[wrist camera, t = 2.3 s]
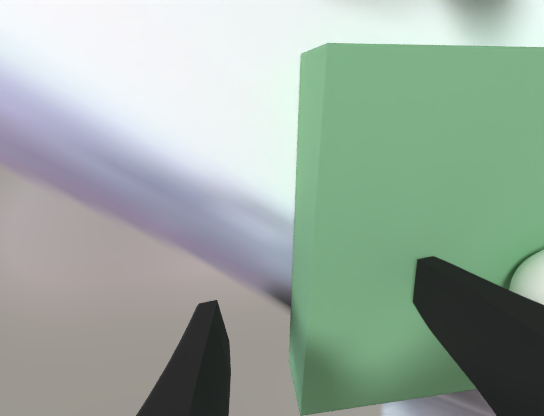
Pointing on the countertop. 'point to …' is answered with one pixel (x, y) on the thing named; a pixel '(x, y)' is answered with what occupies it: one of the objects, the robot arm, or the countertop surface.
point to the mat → (405, 206)
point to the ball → (530, 278)
